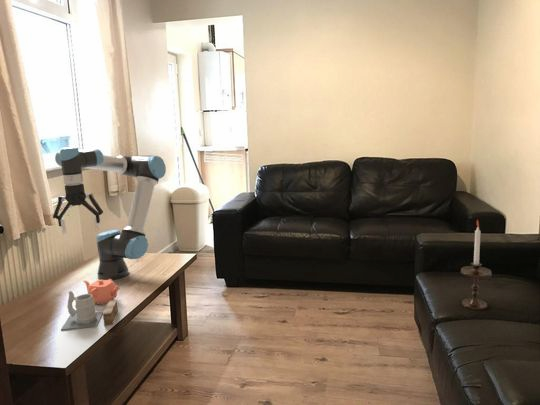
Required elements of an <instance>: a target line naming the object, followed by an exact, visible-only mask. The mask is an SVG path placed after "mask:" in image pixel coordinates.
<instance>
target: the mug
mask: <svg viewBox="0 0 540 405" xmlns="http://www.w3.org/2000/svg"><path fill="white" fill-rule="evenodd" d="M74 301H75V305H74V306H73V302H74ZM94 304H95V303H94V301H93V296H92V295H91V294H88V293H85V294H80V295H78V296H75V294H74V293H73V291H72V290H69V291H68V298H67V310H68V314H69V316H70V315H71V317H73V316H74V315H75V314H77V316H76V320H77V321H78V323H79V324H88V323H90V322H93V321H95V320H96V316H97V313H96V312H97V311H96V309H95V308H96V307H95V305H94ZM74 307H75V308H74Z"/></svg>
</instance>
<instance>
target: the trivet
mask: <svg viewBox="0 0 540 405" xmlns="http://www.w3.org/2000/svg"><path fill="white" fill-rule="evenodd" d="M95 312H96V313H97V316H96V320H95V321H93V322H90V323H88V324H79V323H78V321H77V320H76V316H77V314H75V315H74V316H73V317H71V315H70V314H69V316H68V318H67V319H66V321H65V323H64V324H63V325H62V327H61V329H60V331H63V332H64V331H71V330H80V329H81V330H82V329H89V328H96V327H97V326H98V325H99V323H100V321H101V319H102V317H103V313H104V311H103V310H102V311H101V310H100V311H95Z"/></svg>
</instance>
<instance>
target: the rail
mask: <svg viewBox="0 0 540 405" xmlns="http://www.w3.org/2000/svg"><path fill="white" fill-rule="evenodd" d="M118 312H119V307H118V300H117V299H114V300H111V301H109V302H108V303H107V305H106V306H105V309H104V311H103V314H102V317H103V318H102V319H103V326H104V327H107V326H113V324H114V322H115V320H116V317H117V315H118Z"/></svg>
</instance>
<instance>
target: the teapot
mask: <svg viewBox="0 0 540 405" xmlns="http://www.w3.org/2000/svg"><path fill="white" fill-rule="evenodd" d="M83 283H85V286H86V290H87V294H91V295H92V296H93V301H94V303H95V304H94V306H96V305H98V304H102V306H107V305H108V303H109V301H111V300H115V298H117V296H118V292H119V290H120V289H121V287H120V286H118V285H115V282H114V281H113V280H112V279H109V280H101V279H98V280H96V281H93V282H91V283H90V282H89V281H88V280H83Z"/></svg>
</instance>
